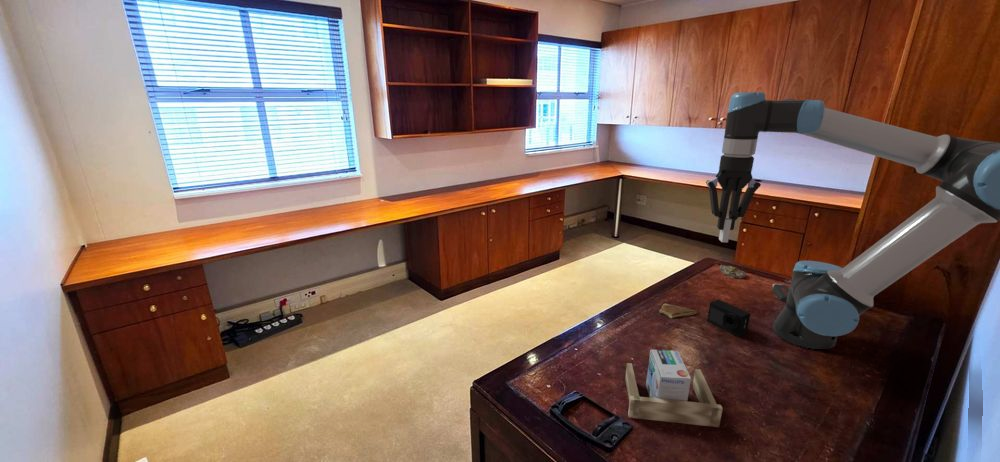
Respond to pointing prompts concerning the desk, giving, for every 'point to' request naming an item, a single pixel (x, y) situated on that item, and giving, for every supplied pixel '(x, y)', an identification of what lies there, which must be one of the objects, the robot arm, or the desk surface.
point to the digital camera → (728, 317)
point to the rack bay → (674, 404)
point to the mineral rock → (732, 271)
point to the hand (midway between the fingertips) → (723, 240)
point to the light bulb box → (667, 376)
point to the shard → (676, 311)
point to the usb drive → (781, 292)
